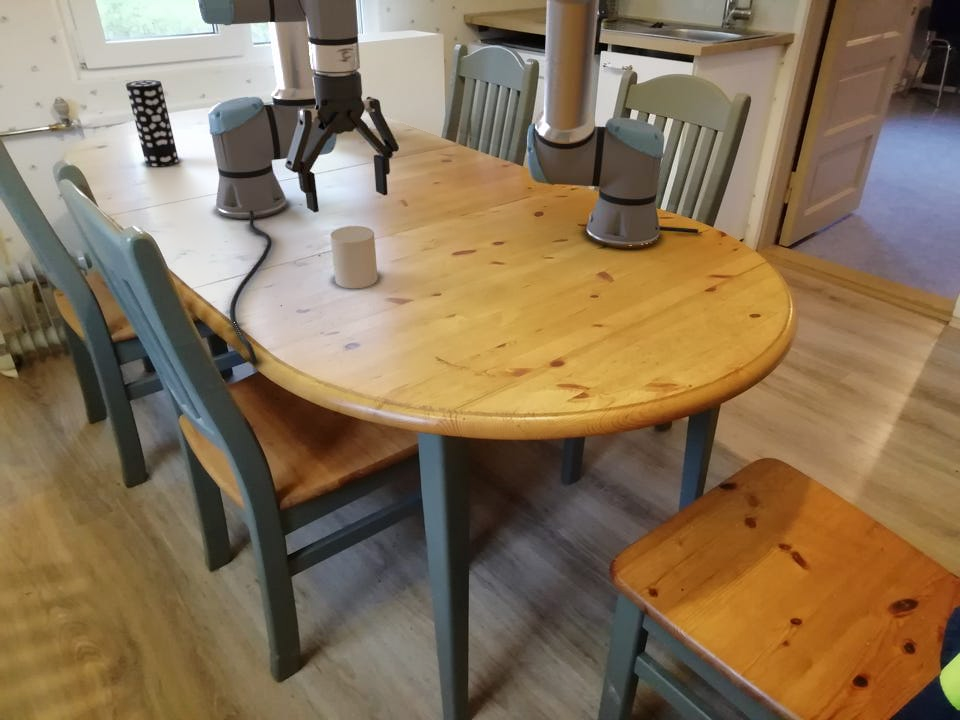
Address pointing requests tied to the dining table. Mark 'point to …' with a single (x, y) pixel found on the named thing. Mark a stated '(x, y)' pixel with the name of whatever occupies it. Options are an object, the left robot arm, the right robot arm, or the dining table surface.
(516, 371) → the dining table surface
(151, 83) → the black white spotted cylinder
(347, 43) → the left robot arm
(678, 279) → the dining table surface
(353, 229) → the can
